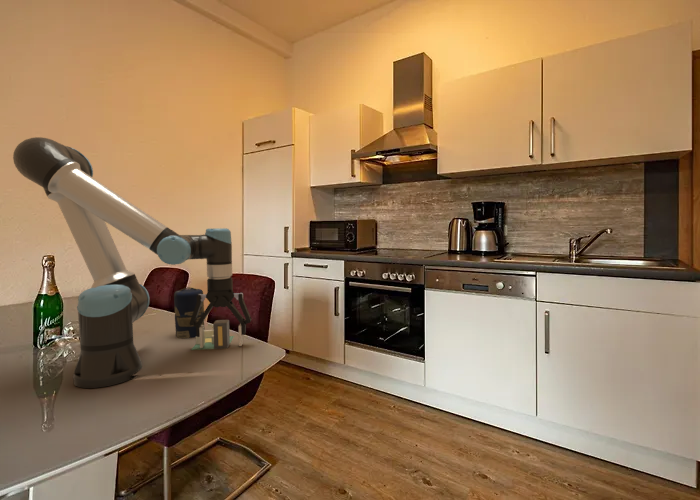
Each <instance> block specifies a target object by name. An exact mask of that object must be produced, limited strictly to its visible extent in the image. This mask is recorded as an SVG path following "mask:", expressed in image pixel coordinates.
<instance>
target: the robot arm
mask: <svg viewBox="0 0 700 500" xmlns="http://www.w3.org/2000/svg"><path fill="white" fill-rule="evenodd" d="M13 151H14V152H13V155H12V156H13V157H12V159H13V164H14V166H15V168H16V170H17V171H18V172H19V174H21V176H23V177H24V178H26V179H27V180H29V181H31V182H33V183H35V184H37V185H38V186H40V187H42V189H43V191H44V192H45V195H46V197H47V198H48V200H51V201H54V202H56V203H57V205H58V207H59V208H60V211H61V213H62V216H63V217H64V219H65V221H66V222H65V223H66V224H67V226H68V228H69V231H70V232H71V234H72V237H73V239H74V241H75V244H76V245H77V247H78V249H79V252H80V254H81V256H82V258H83V260H84V262H85V264H86V267H87V269H88V271H89V273H90V276H91V277H92V279H93V283H92V285H91V286H90V288H87V289H85V290H84V291H81V293H79V295H78V298H77V307H76V309H77V314H78V316H77V317H78V318H77V319H78V332H79V343H80V353H79V356H78V359H77V362H76V366H75V369H74V371H73V375H72V376H73V377H72V378H73V385H74V386H75V387H77V388H83V389H93V388H94V389H97V388H104V387H110V386H114V385H117V384H122V383H124V382H127V381H129V380H132V379H134V378H136V377H137V376H138V374H136V373H139V371H141V369H142V368H143V362H142V360H141V357H140V354H139V353H138V350H137V348H136V346H135V344H134V327H133V323H134V322H136V321H138V320H139V319H140V318H141V317H143V316H144V314H145V313H146V311H147V310H148V308H149V305H150V301H151V300H150V294H149V291H148V290H147V289H146V287H145V286H144V285H142V284H141V283H139V280H138V278H137V276H136V273H135V272H133V271H130V270H128V269H127V268H126V265H125V263H124V261H123V259H122V256H121V254H120V251H119V250H118V247H117V245H116V243H115V241H114V238H113V236H112V235H111V231H110V230H109V228H108V225H110V226H111V227H113V228H115V229H116V230H118V231H120V233H122V234H124V235H126V236H128V237H129V238H131V239H132V240H134V241H135V242H137V243H139V244H140V245H141V246H143V247H144V248H146V249H148V250H149V251H151V252H152V253H154V254H156V255H157V257H158V258H159V260H161V262H162V263H164V264H167V265H173V266H174V265H181V264H182V263H185V262H186V261H188V260H206V276H207V280H206V285H207V288H206V289H207V292H206V293H205V294H204V293H203V294H199V295H197V303H196V306H195V309H194V312H193V315H192V317H191V320H190V323H189V324H190V325H191V326H192V325H193V326H195V327H196V336H197V337H200V348H203V347H204V345H205V339H204V327H205V324H204V325H201V324H202V323H203V321H204V322H205V320H206V318H207V317H208V315H209V314H210V312H211V311H212V309H213V308H219V307H221V308H226V307H227V308H228V310H230V311H231V313H232V315H234V317H235V318H236V319H237V321H238V322H239V324H238V346H239V347H242V345H243V344H244V343H243V339H244V338H243V337H244V336H245V335H246V332H247V328H246V327H247V324H250V323H251V322H252V316H251V314H250V311H249V310H248V307H247V305H246V303H245V300H244V292H240V293H239V292H238V293H237V292H236V293H235V292H234V289H233V288H234V286H233V283H234V282H233V277H232V276H233V260H232V258H233V257H232V256H233V254H232V253H233V249H232V248H233V244H232V232H231V230H230V229H229V228H225V227H223V228H221V227H220V228H206V229H205V232H204V234H179V233H177V232H175V230H173V229H171V228H170V227H168V226H167V225H165V224H163V223H162V222H160V221H159V220H157V219H156V218H154V217H153V216H152V215H150V214H148V213H146V212H145V211H144V210H142V209H141V208H139V207H138V206H136V205H134V204H133V203H132V202H130V201H129V200H127V199H126V198H124V197H122V196H121V195H119V194H118V193H117V192H115V191H114V190H112V189H111V188H109V187H107V186H106V185H104V184H103V183H102V182H100V181H98V180H97V179H96V178H94V177H93V176H94V170H93V166H92V164H91V162H90V160H89V158H87V157H86V156H85V155H84V154H83V153H81V152H80V151H79V150H77V149H76V148H73V147H71V146H67V145H64V144H62V143H59V142H58V141H56V140H53V139H51V138H48V137H41V136H40V137H36V136H35V137H30V138H26V139H24V140H23V141H21V142H20V143H18V144H17V145H16V146H15V148H14V150H13ZM107 224H108V225H107ZM234 298H235V299H236V301H238V303H239V304H238V305H239V307H240V310H241V311H242V314H243V315H242V314H241V313H240V311H239V310H238V309H237V307H236V305H235V303H233V301H232V300H233V299H234ZM206 299H207V301H208V302H209V304H208V305H207V307H206V309H204V313H203V314H202V316H201V317H200V319H199V321H196V319H197V316H198V314H199V311H200V308H201V305H202V302H203V301H205V300H206Z"/></svg>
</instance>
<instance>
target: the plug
mask: <svg viewBox="0 0 700 500" xmlns="http://www.w3.org/2000/svg"><path fill="white" fill-rule="evenodd" d="M212 328H213V330H214V349H213V350H219V348H222V349H228V348H229V346H230V345H231V343H230V336H231V335H230V319H217V320H215V321H214V322H213V327H212Z"/></svg>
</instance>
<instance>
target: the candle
mask: <svg viewBox="0 0 700 500" xmlns="http://www.w3.org/2000/svg"><path fill="white" fill-rule="evenodd" d="M199 294H204V292H203V290H202V289H200V288H194V287H189V286H188V287H184V288H182V289H179V290H176V291H175V292H174V294H173V301H174V303H173V304H174V324H175V325H174V326H175V337H176V338H177V339H194V338H196V327H195V326H193V325H192V326H191V325H190V324H189V323H190V320H191V317H192V315H193V312H194V309H195V306H196V303H197V295H199ZM204 301H205V300H204ZM204 301H203V302H202V305H201V308H200V311H199V314H198V316H197V319H196V321H199V319H200V317H201V316H202V314H203V313H204V311H205V305H204ZM201 325H204V330H206V329H205V320H204V321H203V323H202V324H201Z"/></svg>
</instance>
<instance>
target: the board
mask: <svg viewBox="0 0 700 500" xmlns="http://www.w3.org/2000/svg"><path fill="white" fill-rule="evenodd" d="M234 338H235V335H230V344H231V342H233V340H234ZM205 339H206V338H205ZM219 349H223V348H219ZM219 349H218V350H219ZM199 350H201V351H202V350H203V351H204V350H215V349H214V344H212V342H208V343H205V345H204V347H203V348H200V344H198V345H196V343H195V345H194V346H192V348H191V349H190V351H199Z"/></svg>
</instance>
